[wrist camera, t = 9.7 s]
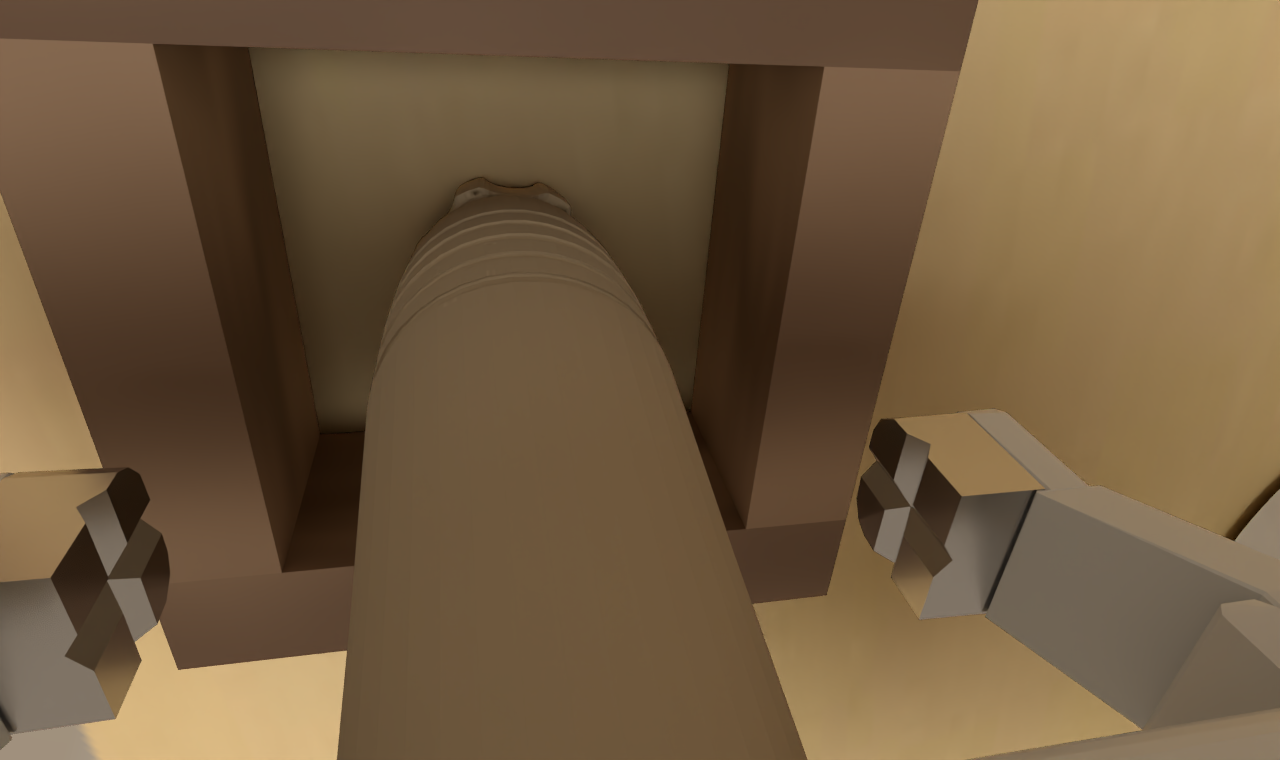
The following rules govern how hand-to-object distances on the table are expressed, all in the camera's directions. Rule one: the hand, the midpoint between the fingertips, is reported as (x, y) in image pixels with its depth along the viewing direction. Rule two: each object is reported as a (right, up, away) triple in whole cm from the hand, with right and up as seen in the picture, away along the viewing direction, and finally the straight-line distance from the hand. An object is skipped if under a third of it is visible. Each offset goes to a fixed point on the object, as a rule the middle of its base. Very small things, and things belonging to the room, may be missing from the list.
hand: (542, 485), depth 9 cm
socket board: (-1, +4, +6) cm, 7 cm away
